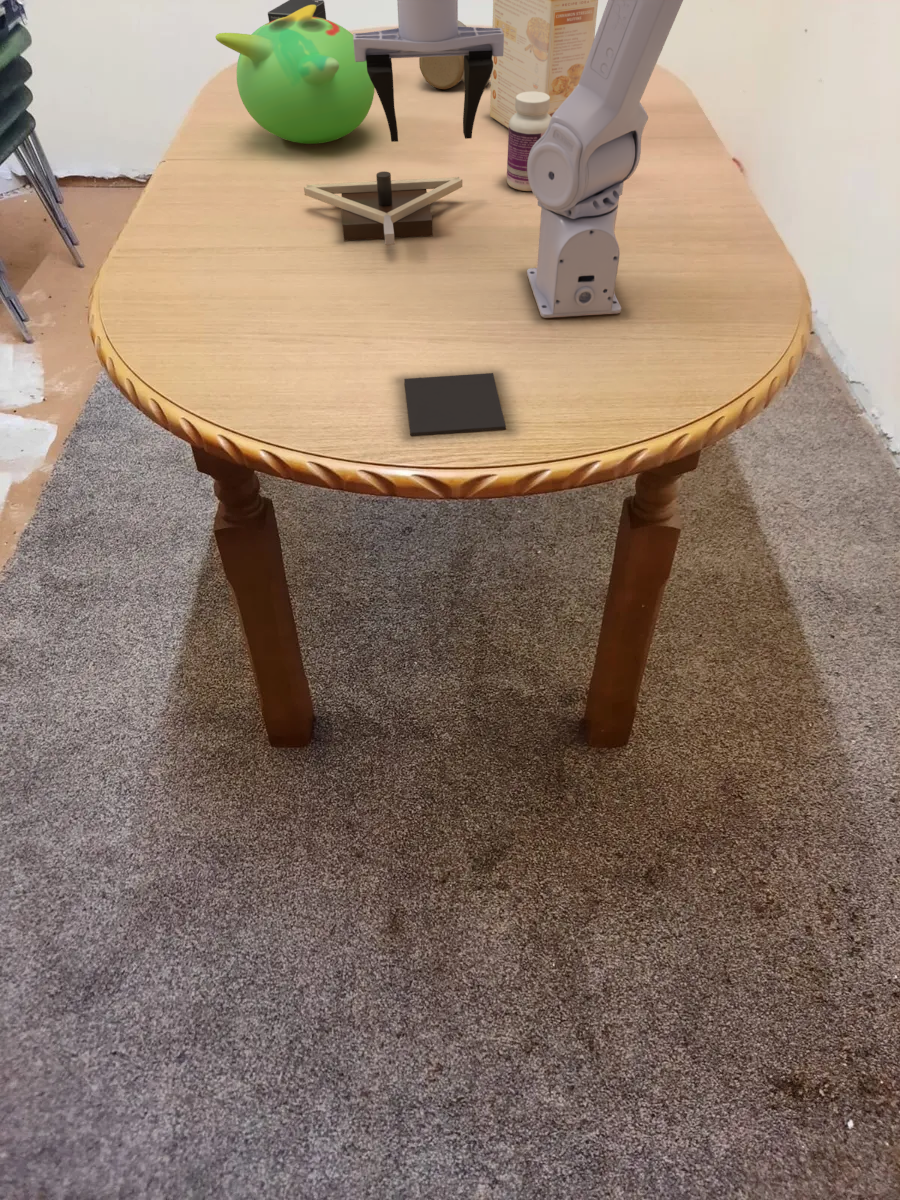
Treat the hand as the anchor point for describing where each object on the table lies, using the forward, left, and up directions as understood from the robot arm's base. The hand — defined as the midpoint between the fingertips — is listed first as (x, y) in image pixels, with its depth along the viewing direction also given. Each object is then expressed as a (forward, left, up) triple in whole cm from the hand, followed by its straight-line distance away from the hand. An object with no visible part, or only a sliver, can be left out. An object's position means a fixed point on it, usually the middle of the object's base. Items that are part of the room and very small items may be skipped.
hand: (430, 136), depth 86 cm
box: (+52, +15, -10) cm, 55 cm away
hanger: (+1, +5, -8) cm, 10 cm away
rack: (+4, +5, -10) cm, 12 cm away
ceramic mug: (+51, -8, -10) cm, 52 cm away
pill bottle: (+12, -13, -10) cm, 20 cm away
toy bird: (+30, +14, -10) cm, 35 cm away
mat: (-34, +1, -10) cm, 35 cm away
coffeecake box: (+30, -17, -10) cm, 36 cm away
